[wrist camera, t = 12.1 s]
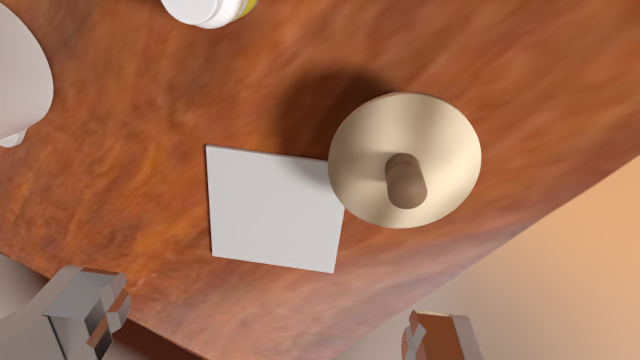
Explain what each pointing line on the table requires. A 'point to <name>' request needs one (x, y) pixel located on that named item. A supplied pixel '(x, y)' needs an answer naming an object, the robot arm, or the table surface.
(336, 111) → the table surface
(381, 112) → the lid
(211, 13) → the supplement bottle
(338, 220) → the mat
